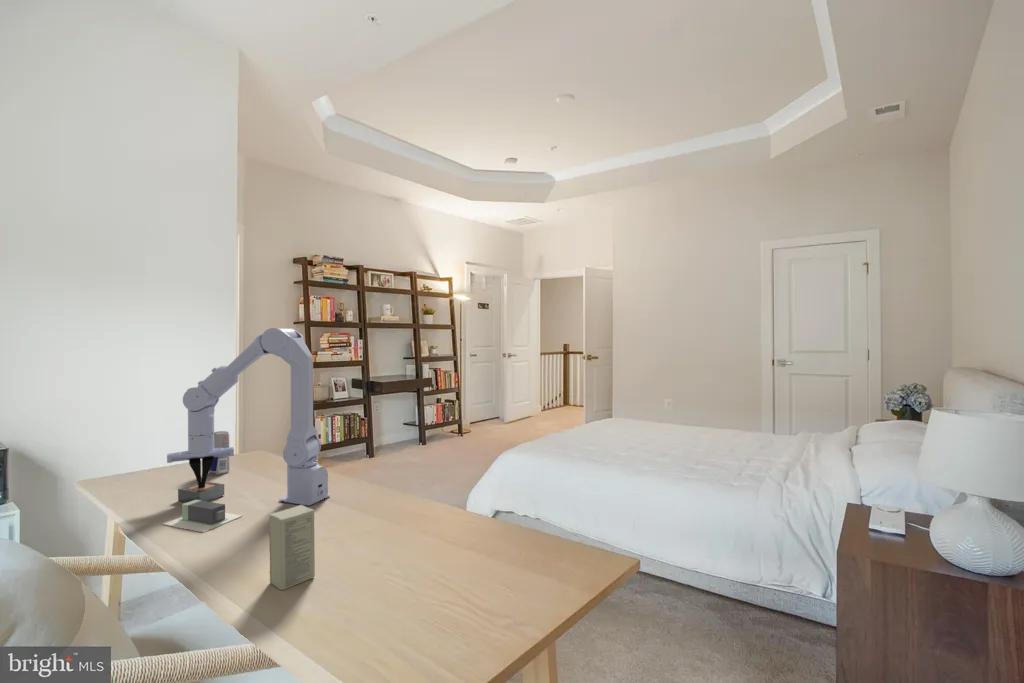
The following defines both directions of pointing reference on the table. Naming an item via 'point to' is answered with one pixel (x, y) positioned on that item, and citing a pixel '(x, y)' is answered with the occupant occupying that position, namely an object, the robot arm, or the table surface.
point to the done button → (201, 488)
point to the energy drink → (222, 462)
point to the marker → (203, 511)
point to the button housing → (201, 493)
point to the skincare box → (291, 546)
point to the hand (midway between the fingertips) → (201, 487)
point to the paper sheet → (200, 526)
